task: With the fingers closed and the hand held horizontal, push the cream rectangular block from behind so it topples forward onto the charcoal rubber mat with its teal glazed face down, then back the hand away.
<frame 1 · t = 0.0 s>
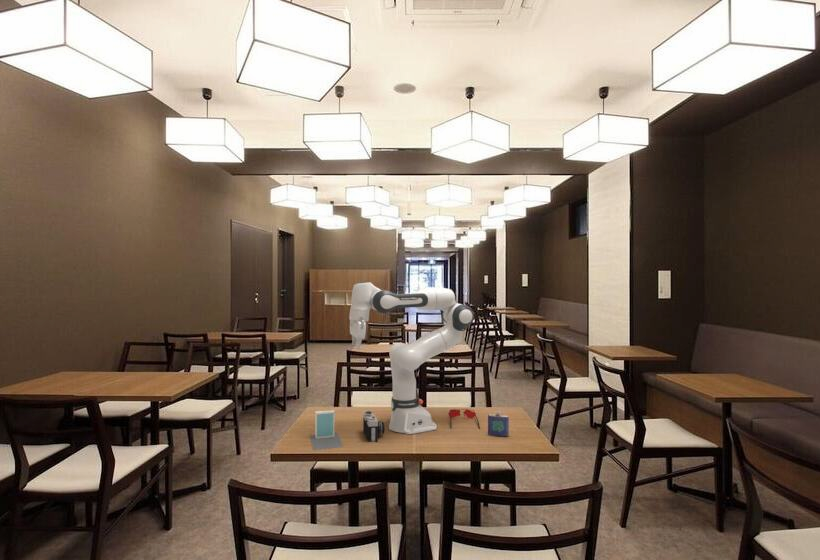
hand: (355, 346, 197), 39 cm above the table, tool pointing down, fingers open, 8 cm apart
camera: (374, 437, 191), on the table
flask: (498, 435, 195), on the table
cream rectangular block: (324, 436, 190), resting on mat
mat: (326, 441, 185), on the table
glasses: (463, 424, 212), on the table
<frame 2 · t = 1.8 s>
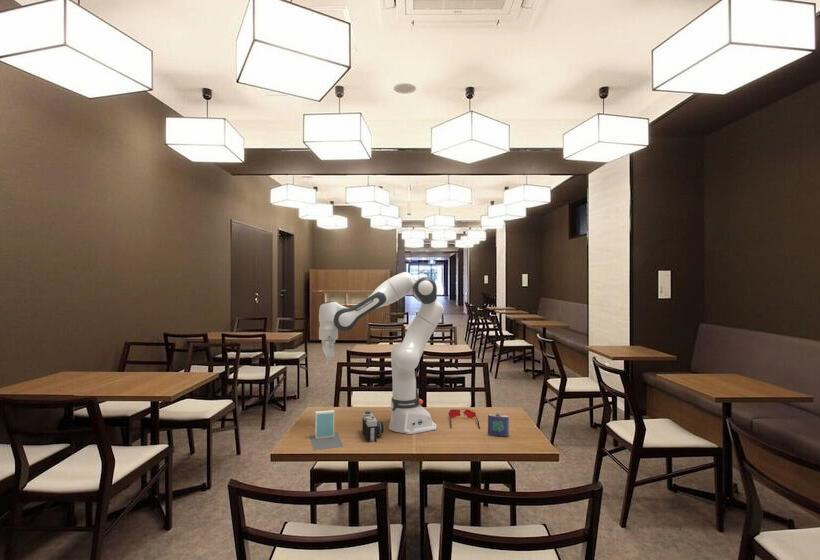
hand: (328, 364, 205), 29 cm above the table, tool pointing down, fingers closed
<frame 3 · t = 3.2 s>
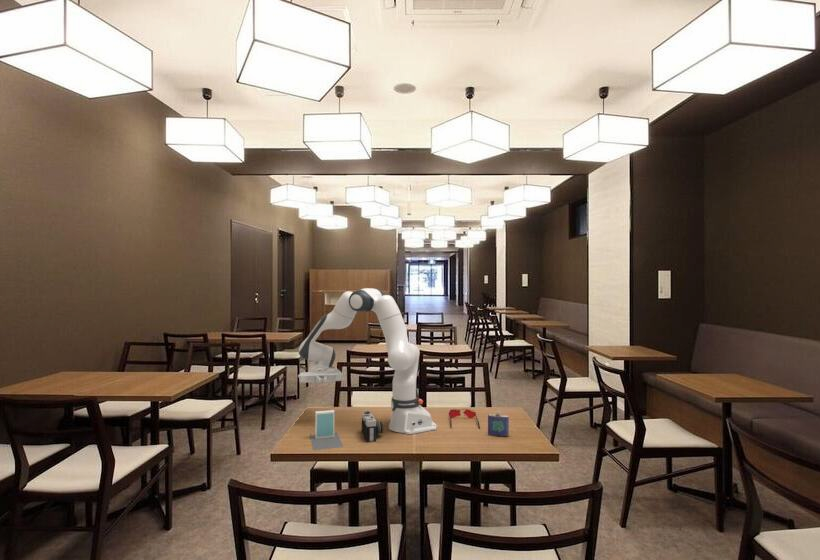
hand: (322, 380, 202), 22 cm above the table, tool horizontal, fingers closed
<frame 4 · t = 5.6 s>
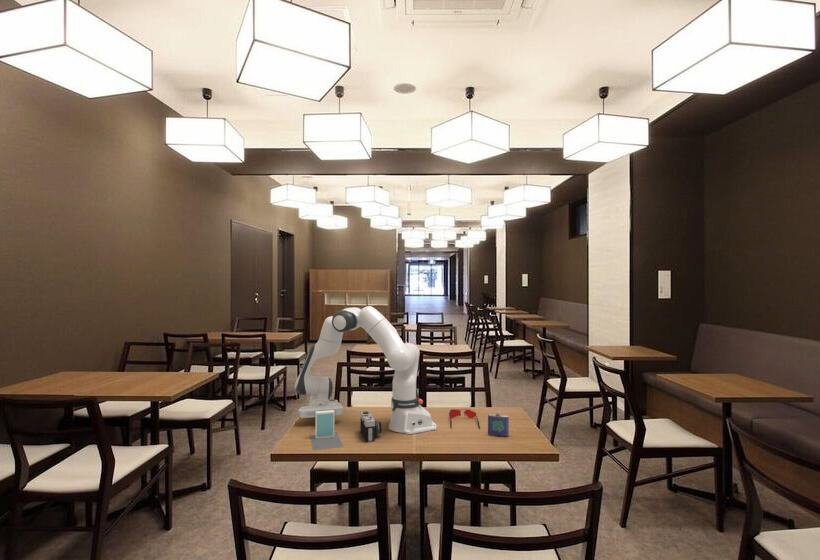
hand: (322, 415, 200), 6 cm above the table, tool horizontal, fingers closed
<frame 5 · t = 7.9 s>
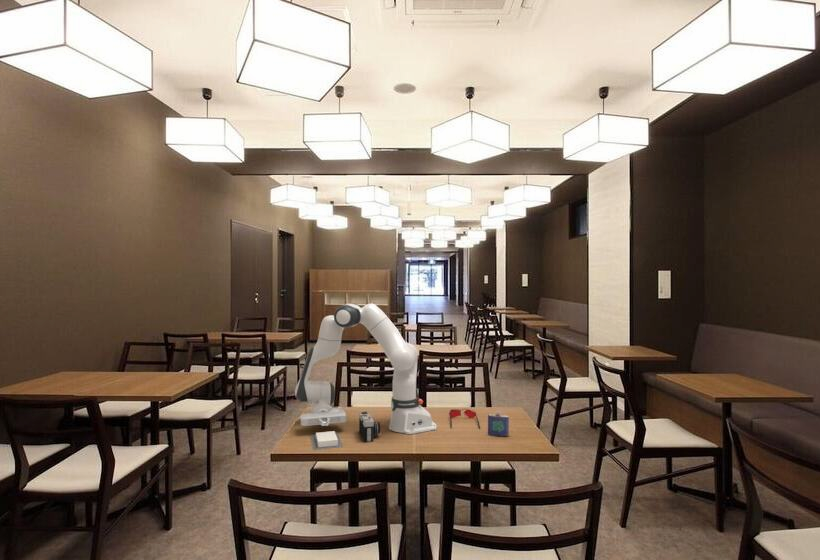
hand: (325, 423, 188), 6 cm above the table, tool horizontal, fingers closed
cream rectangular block: (325, 434, 189), point 2 cm above the table, tilted 90°, touching mat
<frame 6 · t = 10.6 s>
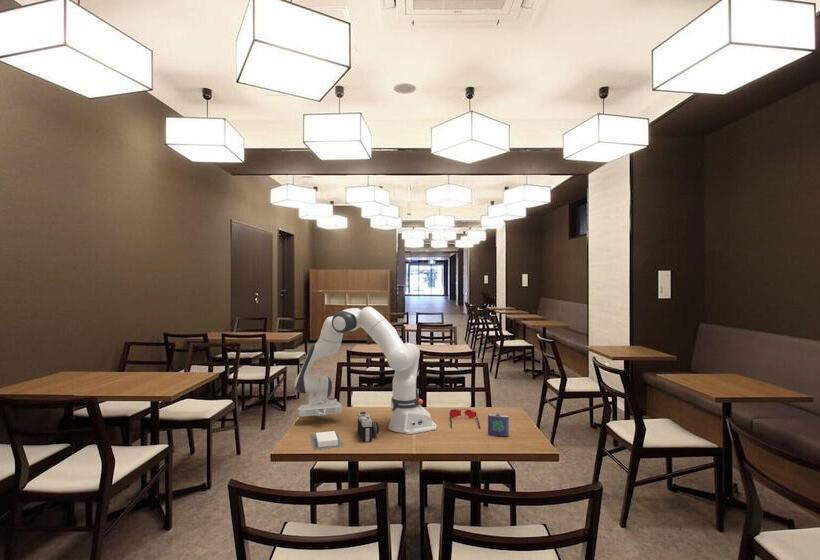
hand: (321, 414, 201), 7 cm above the table, tool horizontal, fingers closed
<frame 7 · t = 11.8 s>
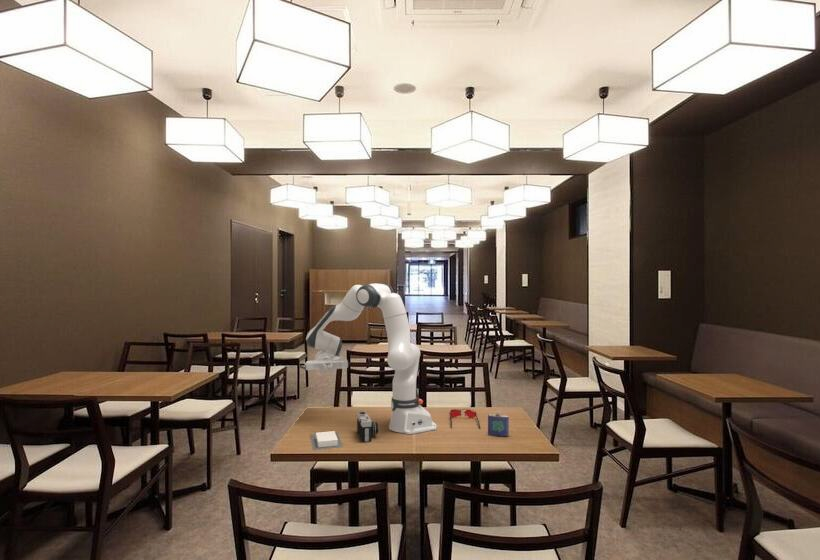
hand: (328, 367, 204), 28 cm above the table, tool horizontal, fingers closed
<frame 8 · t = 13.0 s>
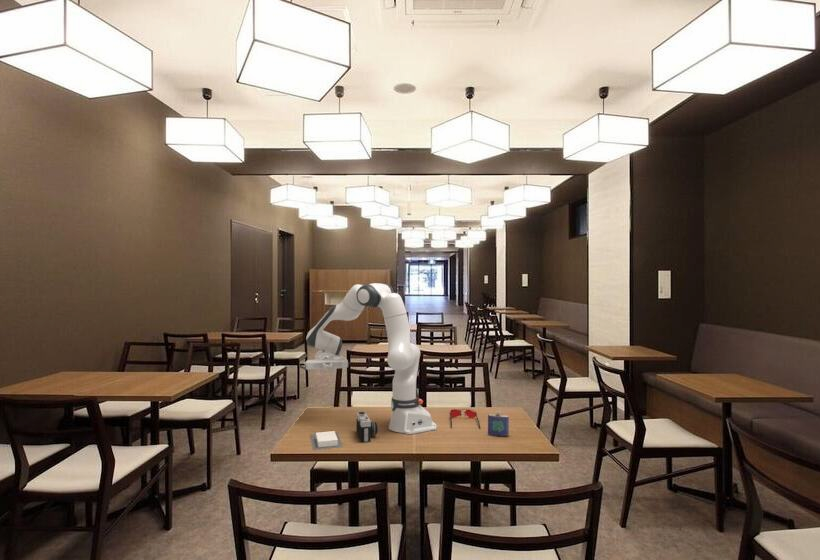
hand: (328, 367, 205), 28 cm above the table, tool horizontal, fingers closed
at the end: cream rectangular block tilted 90°; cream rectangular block inside the target area on the mat (4.2 cm from its centre), point 1.7 cm above the mat's base; the gripper is holding nothing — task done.
